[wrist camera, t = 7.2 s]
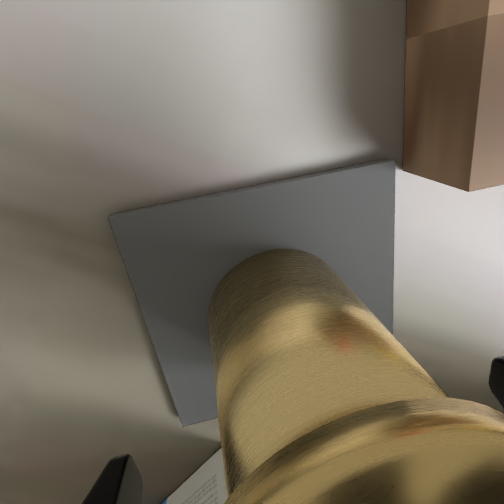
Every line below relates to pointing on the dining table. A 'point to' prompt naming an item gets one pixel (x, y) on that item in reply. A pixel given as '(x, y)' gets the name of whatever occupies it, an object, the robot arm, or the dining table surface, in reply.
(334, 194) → the felt pad
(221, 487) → the ink box
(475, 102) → the bore block
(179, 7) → the dining table surface
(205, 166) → the dining table surface
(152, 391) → the dining table surface
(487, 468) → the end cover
